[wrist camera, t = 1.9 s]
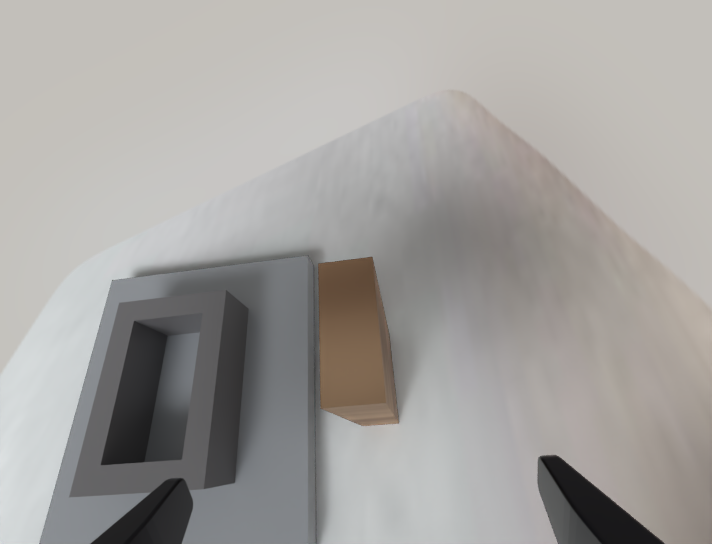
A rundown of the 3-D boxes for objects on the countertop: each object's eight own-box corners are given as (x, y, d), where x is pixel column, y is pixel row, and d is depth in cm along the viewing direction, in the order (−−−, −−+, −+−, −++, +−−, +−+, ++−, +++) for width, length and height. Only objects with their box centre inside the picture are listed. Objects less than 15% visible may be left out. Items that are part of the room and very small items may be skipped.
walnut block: (398, 423, 19) (385, 402, 11) (362, 425, 20) (320, 408, 11) (389, 334, 22) (372, 256, 13) (357, 338, 22) (318, 263, 13)
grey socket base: (316, 553, 17) (287, 585, 13) (58, 564, 19) (-38, 595, 15) (313, 265, 25) (294, 230, 21) (127, 288, 26) (75, 260, 22)
